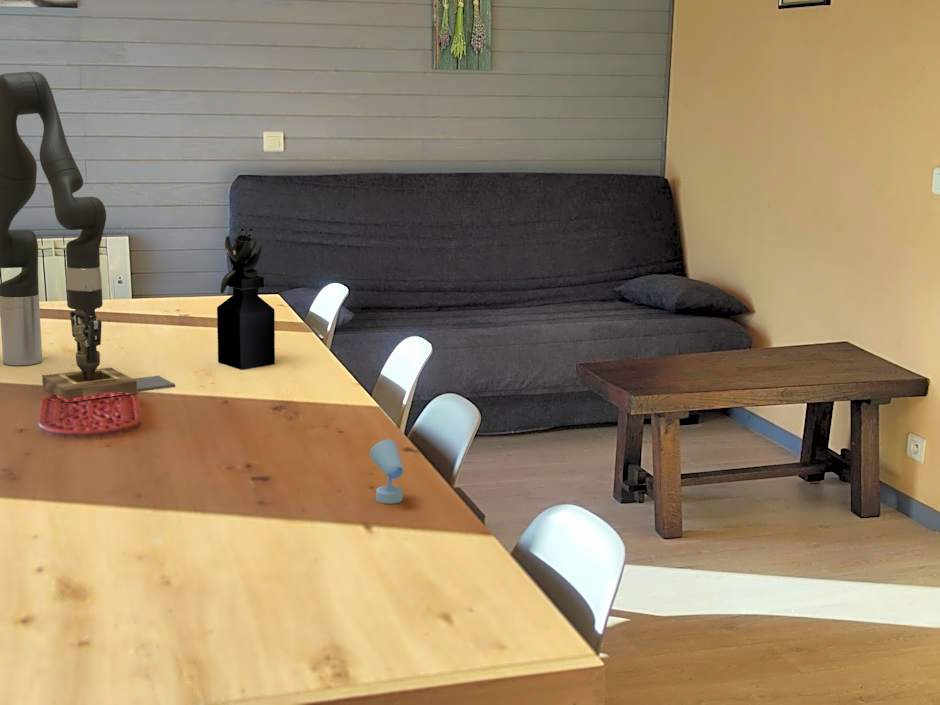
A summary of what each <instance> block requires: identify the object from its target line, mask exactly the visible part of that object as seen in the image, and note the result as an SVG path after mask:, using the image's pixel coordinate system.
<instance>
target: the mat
mask: <svg viewBox="0 0 940 705" xmlns="http://www.w3.org/2000/svg"><path fill="white" fill-rule="evenodd" d="M133 379H134V380H136V381H137V393H138V392H143V391H144V392H145V391H152V390H159V389H167V388H175V387H176V384H175V383H174V382H173V381H172V382H171V381H170V380H168V379H165V377H162V376H160V375H153V376H152V375H151V376H145V377H138V378H137V377H136V378H133Z"/></svg>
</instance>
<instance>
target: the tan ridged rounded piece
mask: <svg viewBox="0 0 940 705" xmlns="http://www.w3.org/2000/svg"><path fill="white" fill-rule="evenodd" d="M83 327H84V328H85V324H83ZM73 329H74V330H75V331H74V333H73V334H74V335H75V337H74V341H75V342H76V343H77V342H79V343H80V348H81V350H80V351H78V352H77V351H76V352H75V362H76V366H77V367H78V368H79V370H80V371H82V376H83V380H86V381H94V380H95V378H96V377H95V370H96V369H98V367H99V366H100V362H101V353H100V351H98V350H97V362H95V363H88V362H86V345H85V338H84V337H82V331H81V329H82V325H74V326H73ZM85 332H86V333H88V332H89V329H88V330H85ZM92 340H93V337H92Z"/></svg>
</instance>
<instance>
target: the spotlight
mask: <svg viewBox="0 0 940 705" xmlns="http://www.w3.org/2000/svg"><path fill="white" fill-rule="evenodd" d="M369 450H370V451H369V458H370V459H371V461H372V462H374V464H375V465H376V466H377V467H378V468H379V469H380V471H381V472H383V474H385V476H386V477H387V478H386V480H387V481H386V483H387V484H386V485H382V486H379V487H377V488H376V489H375V492H376V493H375V500H376V501H377V503H381V504H388V505H389V504H398V503H400V502H402V501H403V498H404V497H403V492H404V491H403V488H402V487H400V486H396V485H393V481H395V480H397V479H399V478H400V479H401V477H402V476H403V475H404V470H405V469H404V467H403V463H402V459H401V455H400V452H399V448H398V445H397V443H396V441H394V440H393V439H383V440H380V441H378V442H377V443H375V444H374V445H373V446H372V447H371V449H369Z"/></svg>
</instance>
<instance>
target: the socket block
mask: <svg viewBox="0 0 940 705" xmlns="http://www.w3.org/2000/svg"><path fill="white" fill-rule="evenodd" d="M95 377H96V378H95V380H94V381H86V380H83V376H82V370H76V371H69V372H58V373H52V374H44V375H43V374H42V377H41V378H42V389H44V390H45V391H47V392H48V393H49V394H51V395H53V396H54V395H60V396H62V397H63V398H65V399H71V398H77V397H83V396H90V395H97V394H103V393H109V392H122V393H131V394H132V395H138V392H137V381H136V380H134V379H135V378H131V377H130V376H128V375H126V374H124V373H122V372H121V371H120V370H119V371H118V370H117V369H115V368H113V367H102V368H96V370H95Z"/></svg>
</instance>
